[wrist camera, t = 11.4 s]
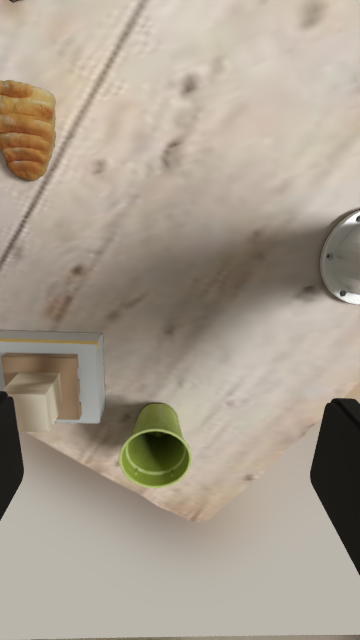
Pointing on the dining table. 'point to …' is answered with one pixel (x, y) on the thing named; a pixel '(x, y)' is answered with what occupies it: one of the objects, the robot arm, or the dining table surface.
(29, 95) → the pastry
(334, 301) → the dining table surface
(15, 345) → the dock
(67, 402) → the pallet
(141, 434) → the plant pot
